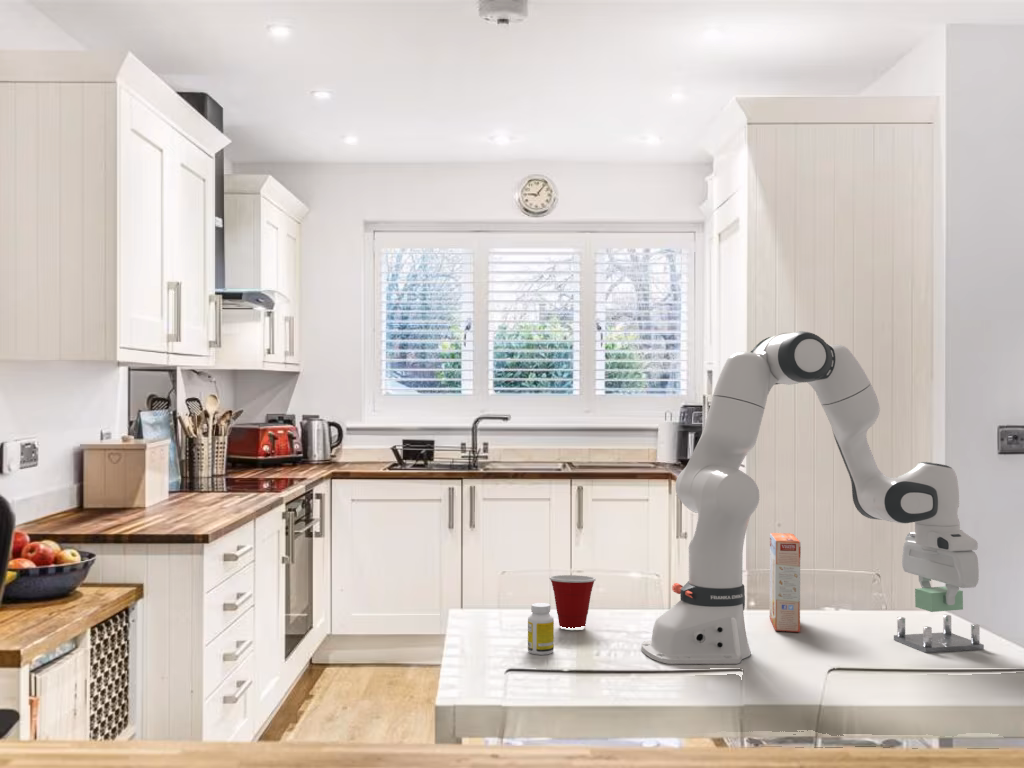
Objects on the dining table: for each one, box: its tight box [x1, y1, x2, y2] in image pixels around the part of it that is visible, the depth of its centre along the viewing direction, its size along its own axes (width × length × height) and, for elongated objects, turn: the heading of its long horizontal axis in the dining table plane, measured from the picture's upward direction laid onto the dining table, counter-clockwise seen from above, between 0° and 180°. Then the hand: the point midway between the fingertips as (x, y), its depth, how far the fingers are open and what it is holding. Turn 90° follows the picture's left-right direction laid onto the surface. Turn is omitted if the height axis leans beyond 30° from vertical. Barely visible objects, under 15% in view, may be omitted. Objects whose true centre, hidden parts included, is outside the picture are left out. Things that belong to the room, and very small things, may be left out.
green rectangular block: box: [914, 585, 964, 613], centre depth 190 cm, size 8×5×4 cm, turn 105°
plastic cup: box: [548, 574, 597, 628], centre depth 203 cm, size 11×11×12 cm
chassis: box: [893, 614, 985, 654], centre depth 190 cm, size 14×11×5 cm
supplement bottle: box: [527, 602, 555, 656], centre depth 183 cm, size 5×5×10 cm
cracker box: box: [769, 532, 802, 633], centre depth 207 cm, size 14×6×21 cm, turn 168°
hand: (938, 600), depth 190 cm, fingers closed on green rectangular block, 5 cm apart
